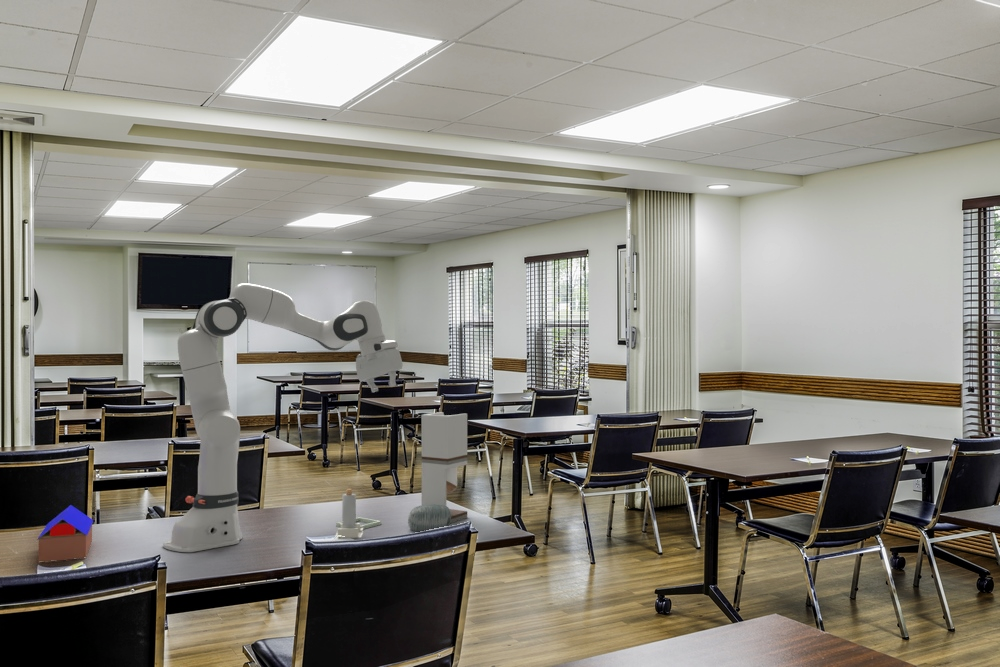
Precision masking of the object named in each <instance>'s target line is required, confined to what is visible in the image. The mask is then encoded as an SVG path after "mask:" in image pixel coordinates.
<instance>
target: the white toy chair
mask: <svg viewBox="0 0 1000 667" xmlns="http://www.w3.org/2000/svg"><path fill="white" fill-rule="evenodd" d="M360 526H361V523H360V522H356V528H342V523H341V524H340V527H338V528H337V531H336V533H335V535H334V537H336V536H337V535H342V536H345V537H348V539H352V538H353V539H355V538H358V539H359V538H362V536H363V534H364V530H365V529H364V527H363V528H361V529H360Z"/></svg>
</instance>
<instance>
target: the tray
mask: <svg viewBox="0 0 1000 667" xmlns="http://www.w3.org/2000/svg"><path fill="white" fill-rule="evenodd" d="M358 522H362V523H366V524H362V525H361V524H360V529H361V528H363V527H364V529H363V530H365V529H368V528H373V527H376V526H380V525H382V520H377V519H370V518H365V517H361V516H358V517H357V516H356V523H358ZM341 523H342V521H337V522H335V526H336V527H338V528H340V524H341Z"/></svg>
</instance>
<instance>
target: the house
mask: <svg viewBox="0 0 1000 667" xmlns="http://www.w3.org/2000/svg"><path fill="white" fill-rule="evenodd" d="M93 523H94V519H92V518H91V517H89V516H88V515H86V514H85V513H83V512H82V511H81V510H79V509H78V508H76V507H74V506H73V505H72V504H70V505H68V507H66V508H65V509H64V510H62V512H60V513H59V514H57V515H56V517H54V518H53V519H51V521H49V522H47V524H46V525H45V527H44V528H43V530H42V532H40V534H39V536H38V538H37V540H38V562H39V561H51V560H64V559H74V558H84V557H86V555H87V556H88V554H89V551H90V549H89V547H90V548H91V546H92V544H91V542H92V543H93ZM90 545H91V546H90ZM88 550H89V551H88ZM87 553H88V554H87ZM86 558H87V557H86Z"/></svg>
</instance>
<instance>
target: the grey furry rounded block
mask: <svg viewBox="0 0 1000 667" xmlns="http://www.w3.org/2000/svg"><path fill="white" fill-rule="evenodd" d="M449 509H450V508H449V507H448V506H447V505H446V506H445V505H437V504H430V505H422V504H421V505H418V506H415V507H413V508H412V509H411V510H410V512H409V513H408V517H407V518H408V519H407V525H408V527H409V529H410V531H413V532H425V531H424V530H429V529H434V528H439V527H444V526H448V527H449V526H450V524H451V523H450V520H451V513H450V510H449Z"/></svg>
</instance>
